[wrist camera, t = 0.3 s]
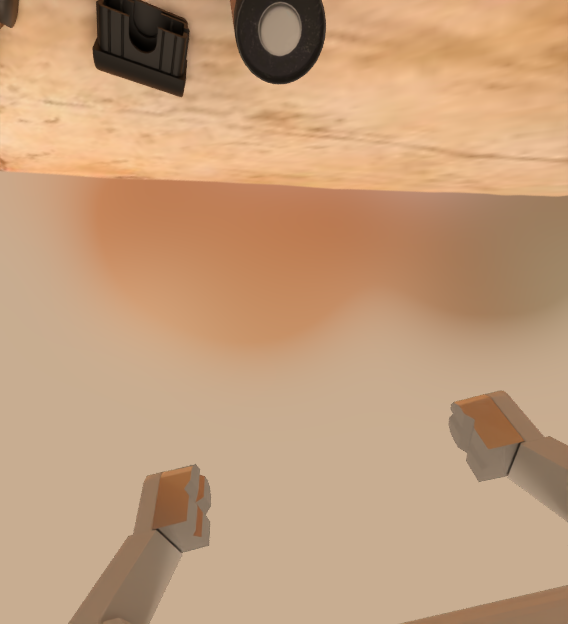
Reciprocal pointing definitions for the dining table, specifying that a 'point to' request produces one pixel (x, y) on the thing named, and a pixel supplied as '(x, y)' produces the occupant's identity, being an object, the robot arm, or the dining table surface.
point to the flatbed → (8, 12)
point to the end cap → (142, 44)
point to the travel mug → (279, 36)
